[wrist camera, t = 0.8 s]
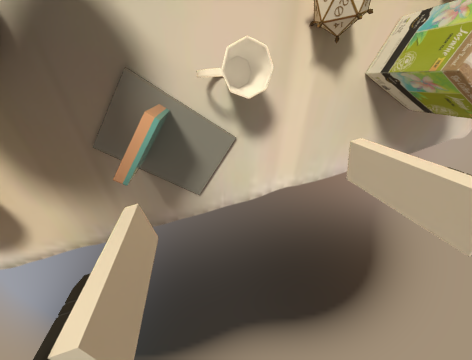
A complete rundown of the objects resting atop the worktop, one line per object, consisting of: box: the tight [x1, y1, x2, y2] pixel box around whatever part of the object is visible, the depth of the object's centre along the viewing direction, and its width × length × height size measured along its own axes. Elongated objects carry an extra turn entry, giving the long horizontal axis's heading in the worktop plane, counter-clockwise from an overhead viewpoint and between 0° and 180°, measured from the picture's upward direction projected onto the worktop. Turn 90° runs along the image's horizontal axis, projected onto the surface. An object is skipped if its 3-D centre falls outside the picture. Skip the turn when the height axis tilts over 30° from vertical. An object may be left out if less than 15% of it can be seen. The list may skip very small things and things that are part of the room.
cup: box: [196, 36, 274, 99], centre depth 28 cm, size 7×10×8 cm
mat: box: [93, 68, 236, 195], centre depth 34 cm, size 20×14×1 cm
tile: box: [113, 104, 170, 185], centre depth 28 cm, size 2×10×10 cm, turn 147°
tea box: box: [366, 0, 472, 118], centre depth 30 cm, size 15×10×15 cm, turn 64°
